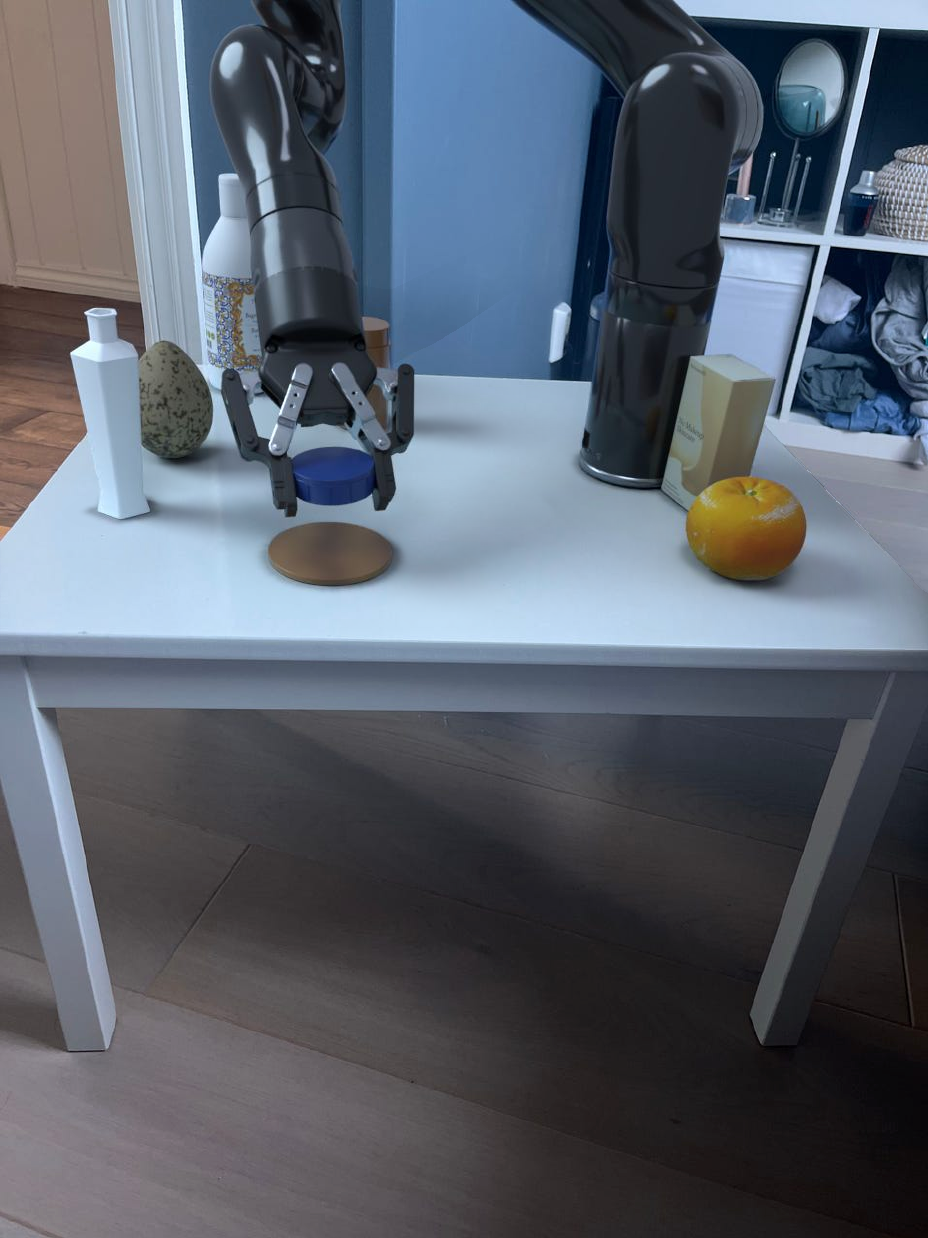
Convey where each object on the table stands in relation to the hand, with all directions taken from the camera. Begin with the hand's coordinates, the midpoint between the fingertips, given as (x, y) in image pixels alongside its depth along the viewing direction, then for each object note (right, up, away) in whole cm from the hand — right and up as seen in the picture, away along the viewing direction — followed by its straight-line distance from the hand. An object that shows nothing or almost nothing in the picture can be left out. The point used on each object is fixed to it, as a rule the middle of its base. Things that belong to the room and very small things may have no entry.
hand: (336, 509), depth 68 cm
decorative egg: (-16, +6, +17) cm, 24 cm away
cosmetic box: (+29, +2, +17) cm, 34 cm away
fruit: (+30, -4, +7) cm, 31 cm away
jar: (-1, +11, +27) cm, 29 cm away
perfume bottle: (-17, +1, +8) cm, 19 cm away
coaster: (-1, -3, +4) cm, 5 cm away
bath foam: (-14, +17, +34) cm, 40 cm away
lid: (0, +3, 0) cm, 3 cm away
